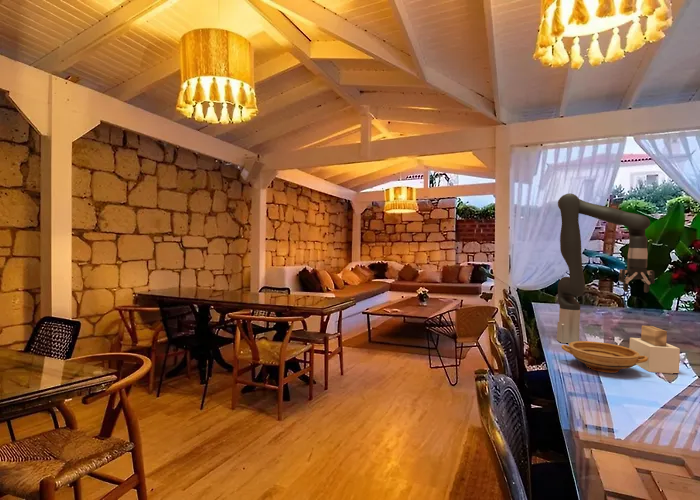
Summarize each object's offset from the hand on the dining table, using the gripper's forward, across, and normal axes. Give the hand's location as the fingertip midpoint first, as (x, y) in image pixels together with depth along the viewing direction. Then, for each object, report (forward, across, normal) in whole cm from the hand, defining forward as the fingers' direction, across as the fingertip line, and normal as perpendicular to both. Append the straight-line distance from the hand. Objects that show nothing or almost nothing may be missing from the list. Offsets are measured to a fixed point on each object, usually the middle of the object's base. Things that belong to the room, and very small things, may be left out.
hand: (636, 291), depth 188 cm
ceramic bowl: (+28, -28, -34) cm, 52 cm away
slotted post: (+28, -6, -27) cm, 39 cm away
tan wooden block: (+21, -6, -27) cm, 35 cm away
